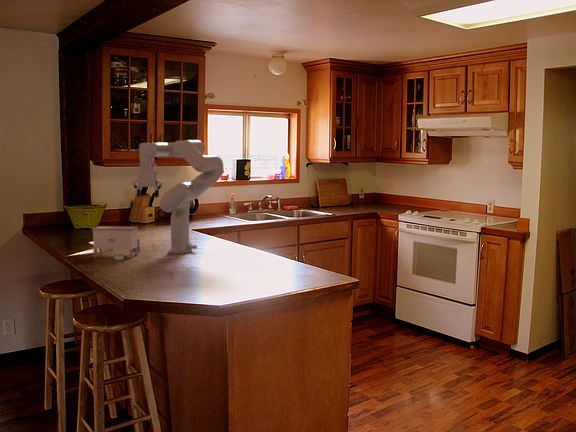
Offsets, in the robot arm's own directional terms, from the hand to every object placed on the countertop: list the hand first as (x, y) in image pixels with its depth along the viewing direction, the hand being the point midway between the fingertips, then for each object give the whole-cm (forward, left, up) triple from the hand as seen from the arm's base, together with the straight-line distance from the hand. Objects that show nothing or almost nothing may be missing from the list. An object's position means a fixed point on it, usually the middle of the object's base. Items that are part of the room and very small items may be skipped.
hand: (148, 197), depth 313 cm
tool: (+4, +18, -28) cm, 34 cm away
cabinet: (+9, +24, -28) cm, 38 cm away
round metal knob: (+4, +32, -28) cm, 43 cm away
